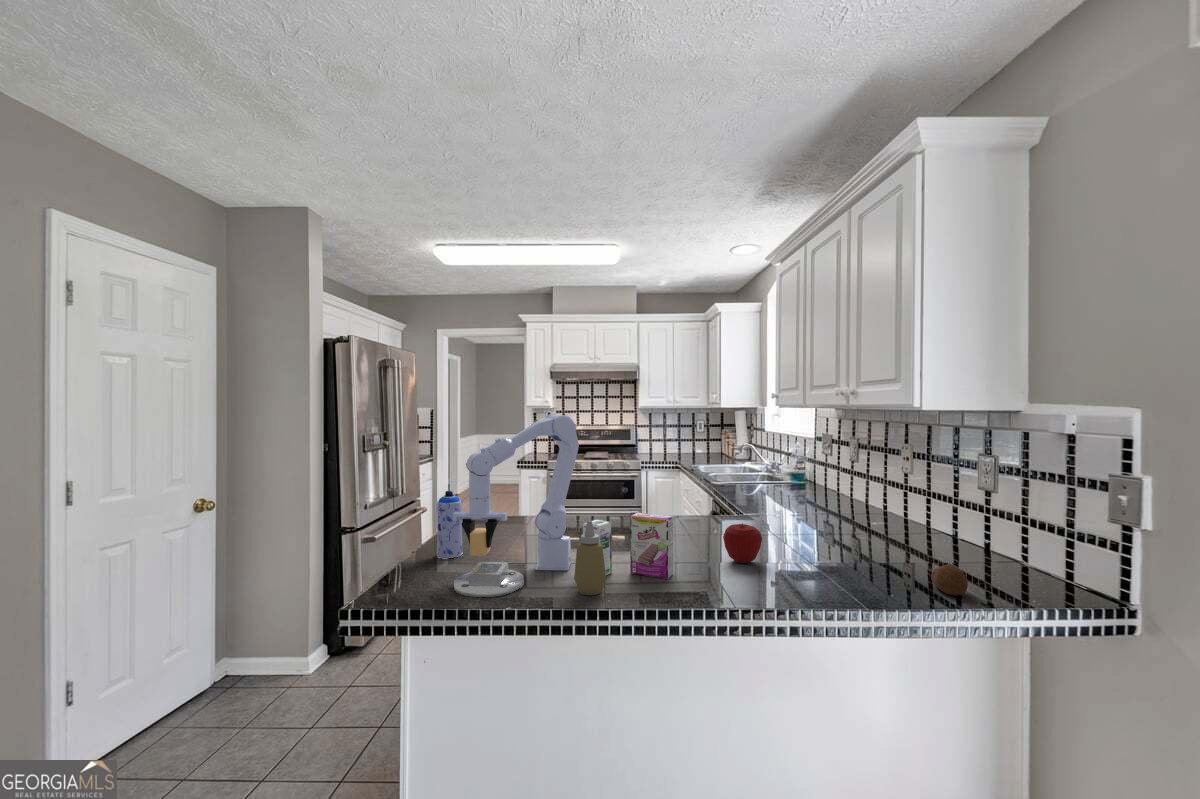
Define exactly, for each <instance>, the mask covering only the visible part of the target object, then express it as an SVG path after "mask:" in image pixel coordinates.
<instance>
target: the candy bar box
mask: <svg viewBox="0 0 1200 799" xmlns="http://www.w3.org/2000/svg"><path fill="white" fill-rule="evenodd" d="M629 519H630V527H629V528H630V536H629V537H630V540H629V541H630V564H629V565H630V567H629V568H630V570H629V571H630V574H631V575H636V574H637V575H638V576H643V575H644V577H651V578H658V579H665V580H668V579H670V577H672V576H673V575H674V516H671V515H661V514H655V513H654V514H653V513H645V512H635V513H633V514H631V515H630V518H629ZM637 575H636V576H637Z"/></svg>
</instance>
